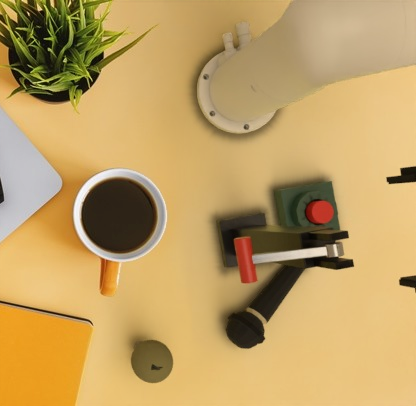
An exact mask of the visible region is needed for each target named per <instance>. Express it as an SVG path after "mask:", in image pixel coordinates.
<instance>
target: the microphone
mask: <svg viewBox="0 0 416 406" xmlns="http://www.w3.org/2000/svg"><path fill="white" fill-rule="evenodd" d="M305 270H306V269H305V268H300V267H294V266H289V265H284V267H283V268H281V270H280V271H279V272H278V273H277V274H276V275H275V276H274V278H273V279H272V280H271V281H270V282H269V283H268V284H267V285H266V287H264V288H263V289H262V290H261V292H260V293H259V294H258V295H257V296H256V297H255V298H254V299H253V301H251V303H250V304H249V305H248V306H247V307H246V311H244V310H243V311H239V312H237V313H236V312H233V313H231V314H230V315H229V316H228V318H227V319H228V321H227V323H226V327H225V333H226V336H227V338H228V340H229V341H230V342H231V343H233V344H234V345H235V346H236V347H238V348H240V349H245V350H249V349H253V348H254V347H256V346H257V345H261V344H263V343H264V341H265V340H266V337H265V333H266V332H265V331H266V329H265V326H264V325H266V324H268V323H269V322H270V320H271V319H272V317H273V316H274V314H275V313H276V311H277V310H278V309H279V307H280V306H281V304H282V303H283V301H284V300H285V298H286V297H287V296H288V294H289V292H291V290H292V288H293V287H294V286H295V284H296V283H297V281H298V280H299V278H300V277H301V276H302V274H303V273H304V271H305Z"/></svg>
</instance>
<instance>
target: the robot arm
mask: <svg viewBox="0 0 416 406" xmlns="http://www.w3.org/2000/svg"><path fill="white" fill-rule="evenodd" d="M250 26H251V25H250V22H249V21H242V22H239V23H237V24H235V32H236V38H237V39H238V46H237V47H236V48H235V46H234V37H233V33H232V32H226V33H223V34H222V36H221V37H222V43H223V46H224V50H223V51H221V52H219V53H218V54H216V55H215V56H213V57H212V58H211V59H210V60H209V61H208V62H206V64H205V65H204V67H203V68H202V69H201V71H200V73H199V76H198V79H197V83H196V97H197V98H196V99H197V103H198V106H199V108H200V111H201V112H202V114H203V116H204V117H205V118H206V119H207V121H208V122H209V123H210V124H212V125H213V126H214V127H216V129H219V130H221V131H222V132H225V133H229V134H238V135H240V134H247V133H250V132H254V131H256V130H258V129H261V128H262V127H264V126H265V125H266V124H268V123H269V122H270V120H271V119H272V118H273V117H274V115H275V114H276V112H277V110H280V109H282V108H285V107H287V106H290V105H293V104H294V103H297V102H300V101H302V100H304V99H305V98H308V97H310V96H313V95H314V94H317V93H318V92H320V91H322V90H323V89H324V88H326V87H327V86H331V85H333V84H337V83H341V82H345V81H349V80H352V79H353V80H354V79H358V78H363V77H367V76H372V75H377V74H380V73H384V72H389V71H394V70H399V69H403V68H408V67H413V66H416V0H292V1H290V2H289V4H288V6H287V7H286V8H285V10H284V11H283V12H282V14H281V16H280V17H279V18H278V19H277V20H276V21H275V22H274V23H273V24H272V25H270V26H269V27H268V28H267V29H266V30H264V31H263V32H261V34H259V35H258V36H257V37H255V38H254V39H252V36H251V35H252V32H251V27H250ZM399 171H400V175H392V176H386V177H385V178H386V183H388V185H395V184H396V185H398V184H408V183H416V165H413V166H406V167H400V168H399ZM398 284H399V286H402V287H407V288H410V289H411V288H412V289H414V292H415V293H416V275H409V276H408V275H407V276H401V277H400V279H398Z"/></svg>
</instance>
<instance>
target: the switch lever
mask: <svg viewBox="0 0 416 406" xmlns="http://www.w3.org/2000/svg"><path fill="white" fill-rule="evenodd" d="M234 244H235V250H236V255H237V261H238V266H237V267H238V272H239V278H240V283H241V284H253V283H254V284H255V283H257V282H258V281H259V279H258V271H257V267H256V265H258V264H266V263H272V262H276V261H285V260H293V259H302V258H311V257H319V256H326V257H339V258H341V257H344V256H345V249H344V243H343V241H336V242H329V243H325V244H324V245H323V246H315V247H307V248H299V249H290V250H282V251H274V252H265V253H257V254H253V249H252V243H251V238H250V237H239V238H235V239H234Z"/></svg>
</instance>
